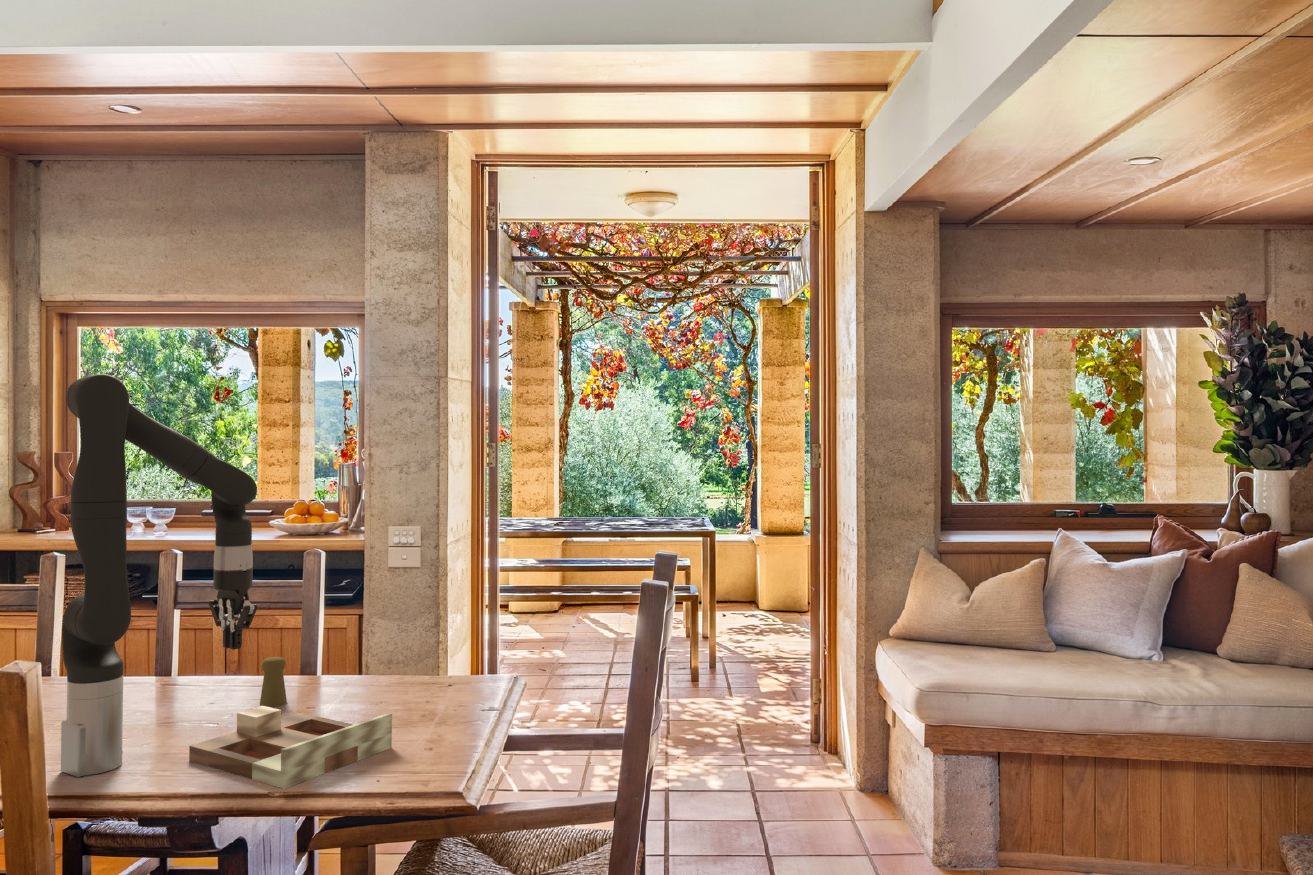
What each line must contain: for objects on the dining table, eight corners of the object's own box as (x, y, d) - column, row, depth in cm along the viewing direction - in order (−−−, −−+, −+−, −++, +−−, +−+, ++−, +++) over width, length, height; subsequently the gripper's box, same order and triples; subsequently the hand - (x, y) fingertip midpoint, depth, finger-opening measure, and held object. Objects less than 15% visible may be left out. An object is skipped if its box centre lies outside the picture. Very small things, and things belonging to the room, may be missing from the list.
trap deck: (284, 788, 164) (284, 750, 164) (189, 761, 178) (189, 725, 178) (391, 747, 187) (392, 713, 187) (299, 725, 201) (300, 694, 201)
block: (255, 737, 184) (255, 717, 184) (236, 732, 186) (236, 712, 186) (281, 729, 189) (281, 710, 189) (262, 724, 192) (262, 705, 192)
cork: (276, 707, 214) (277, 661, 214) (254, 706, 216) (254, 659, 216) (292, 700, 220) (292, 655, 220) (269, 699, 221) (270, 654, 222)
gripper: (196, 566, 192) (195, 647, 192) (238, 571, 186) (237, 655, 186) (228, 562, 199) (227, 641, 199) (269, 566, 192) (268, 648, 192)
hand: (232, 648), depth 192 cm, fingers closed
